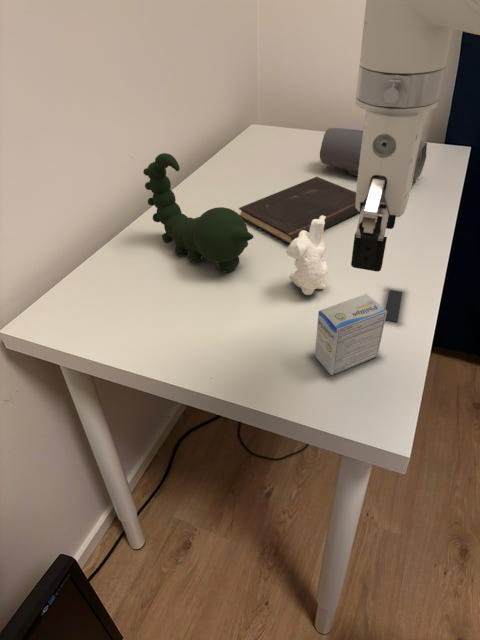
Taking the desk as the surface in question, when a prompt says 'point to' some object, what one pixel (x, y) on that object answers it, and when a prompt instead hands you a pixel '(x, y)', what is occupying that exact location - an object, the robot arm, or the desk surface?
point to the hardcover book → (300, 208)
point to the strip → (393, 305)
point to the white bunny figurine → (309, 258)
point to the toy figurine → (195, 222)
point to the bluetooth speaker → (354, 150)
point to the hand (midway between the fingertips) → (373, 246)
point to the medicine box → (349, 333)
